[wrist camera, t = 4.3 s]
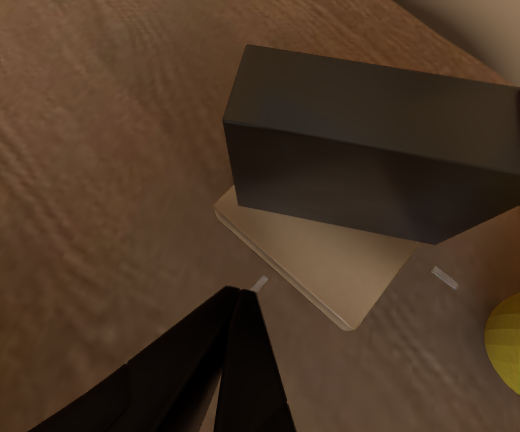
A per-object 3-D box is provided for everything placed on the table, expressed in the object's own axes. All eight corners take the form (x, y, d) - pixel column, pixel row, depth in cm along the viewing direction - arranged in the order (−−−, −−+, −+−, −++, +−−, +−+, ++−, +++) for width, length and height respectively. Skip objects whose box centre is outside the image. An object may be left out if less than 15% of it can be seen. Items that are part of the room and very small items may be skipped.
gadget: (237, 205, 17) (220, 115, 10) (251, 152, 18) (245, 36, 11) (435, 245, 16) (577, 179, 9) (436, 186, 17) (561, 86, 10)
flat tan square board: (356, 402, 16) (372, 415, 13) (162, 218, 19) (149, 204, 17) (494, 202, 20) (524, 186, 17) (311, 80, 23) (316, 54, 21)
